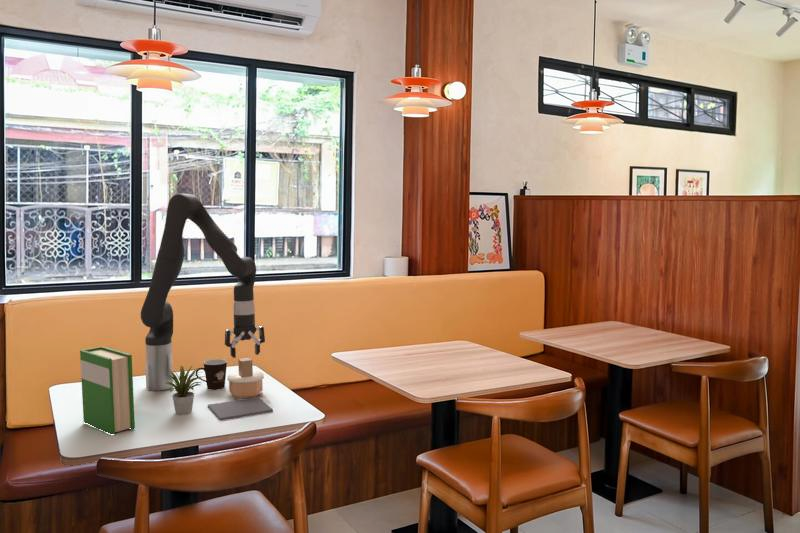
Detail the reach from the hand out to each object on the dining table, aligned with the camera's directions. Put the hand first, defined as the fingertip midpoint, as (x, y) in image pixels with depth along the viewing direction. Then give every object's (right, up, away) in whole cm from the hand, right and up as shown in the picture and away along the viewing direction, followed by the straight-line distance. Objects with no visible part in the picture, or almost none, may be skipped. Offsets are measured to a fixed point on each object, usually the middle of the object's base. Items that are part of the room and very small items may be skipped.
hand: (245, 355), depth 243 cm
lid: (0, -8, +1) cm, 8 cm away
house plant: (-16, -17, -20) cm, 31 cm away
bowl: (0, -14, +2) cm, 14 cm away
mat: (+2, -16, -16) cm, 23 cm away
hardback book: (-36, -18, -33) cm, 52 cm away
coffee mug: (-15, -14, +9) cm, 22 cm away
